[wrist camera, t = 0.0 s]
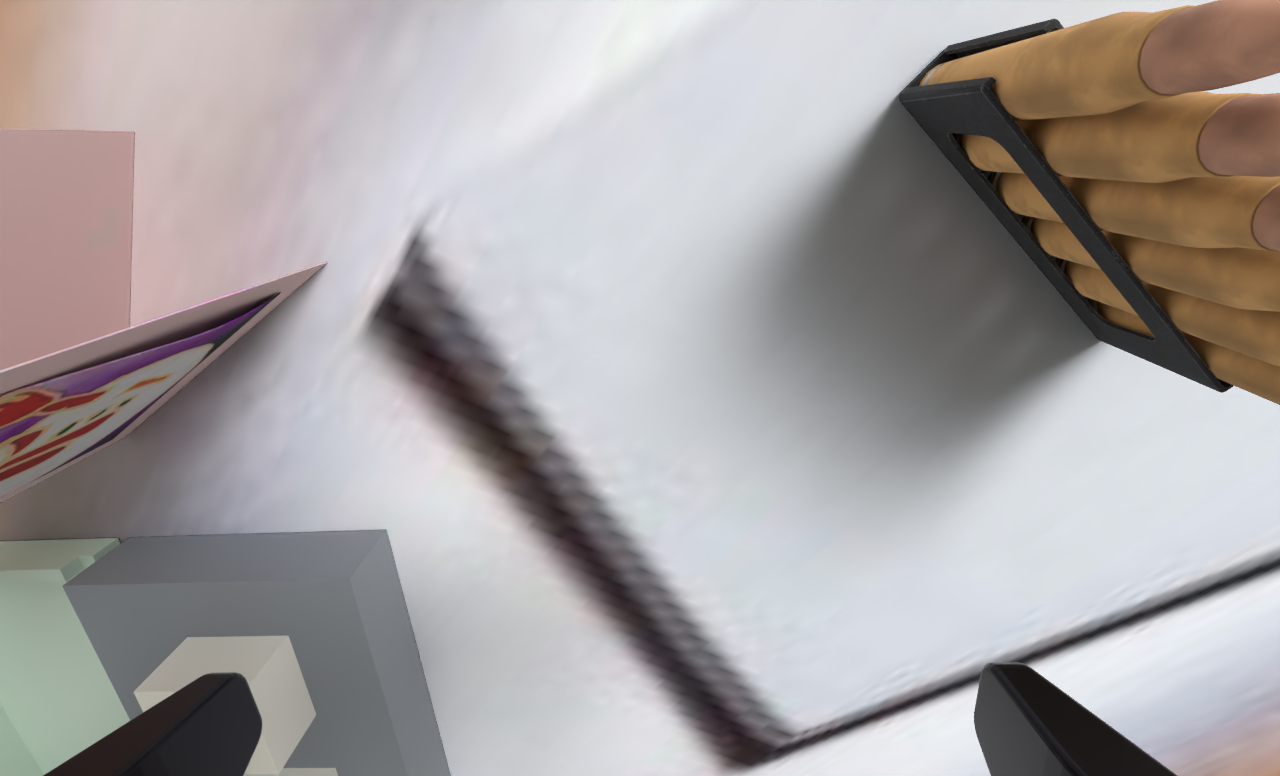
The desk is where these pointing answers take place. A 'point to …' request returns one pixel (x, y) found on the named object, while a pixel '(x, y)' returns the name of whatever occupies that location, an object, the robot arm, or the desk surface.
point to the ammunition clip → (1133, 174)
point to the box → (49, 659)
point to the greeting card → (88, 307)
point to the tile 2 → (305, 772)
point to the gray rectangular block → (277, 632)
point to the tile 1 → (268, 678)
